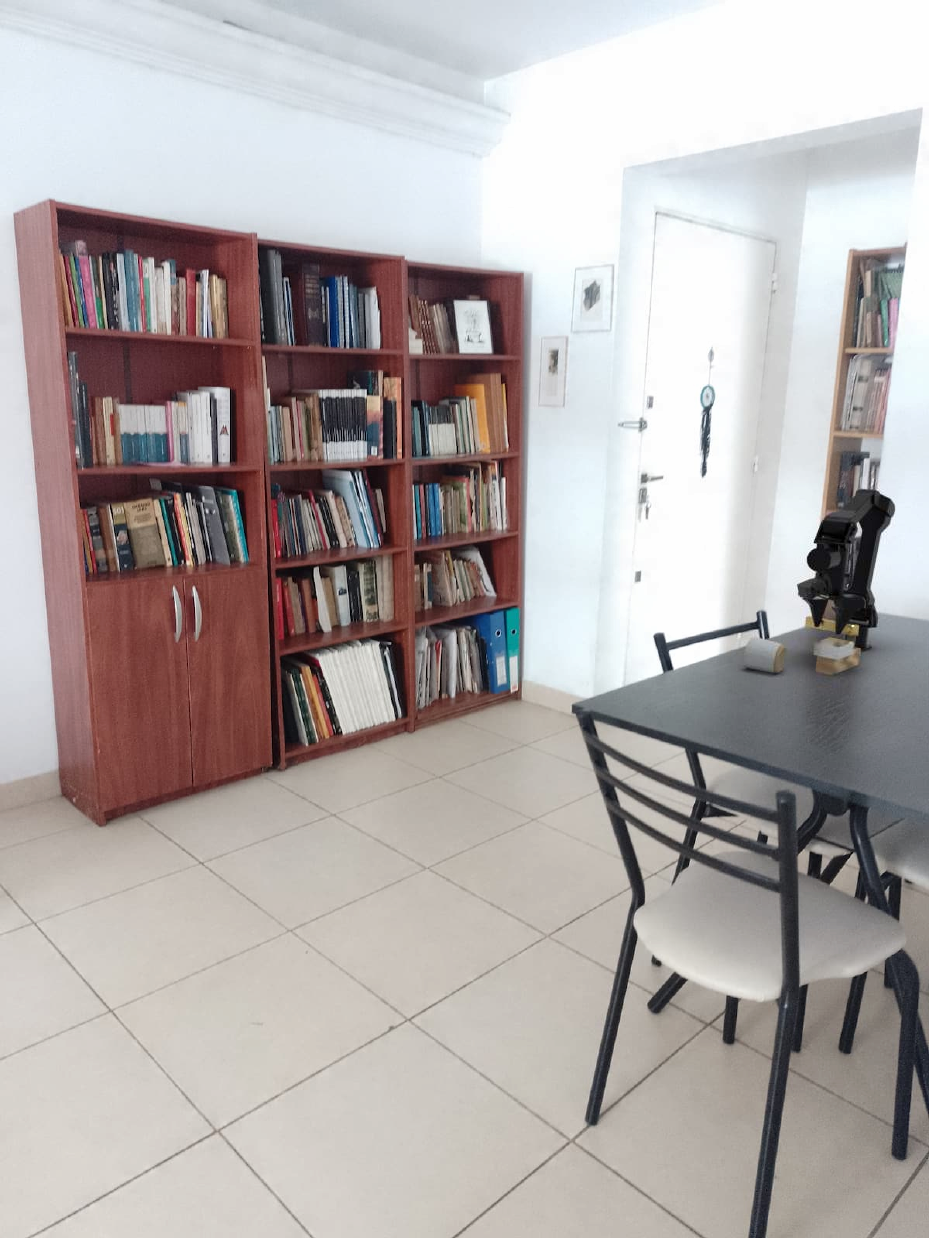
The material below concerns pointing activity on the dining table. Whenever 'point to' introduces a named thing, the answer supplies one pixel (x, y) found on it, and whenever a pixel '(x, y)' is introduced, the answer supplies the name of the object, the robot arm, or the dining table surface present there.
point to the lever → (833, 626)
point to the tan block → (838, 661)
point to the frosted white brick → (833, 648)
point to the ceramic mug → (765, 655)
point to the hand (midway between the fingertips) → (827, 630)
